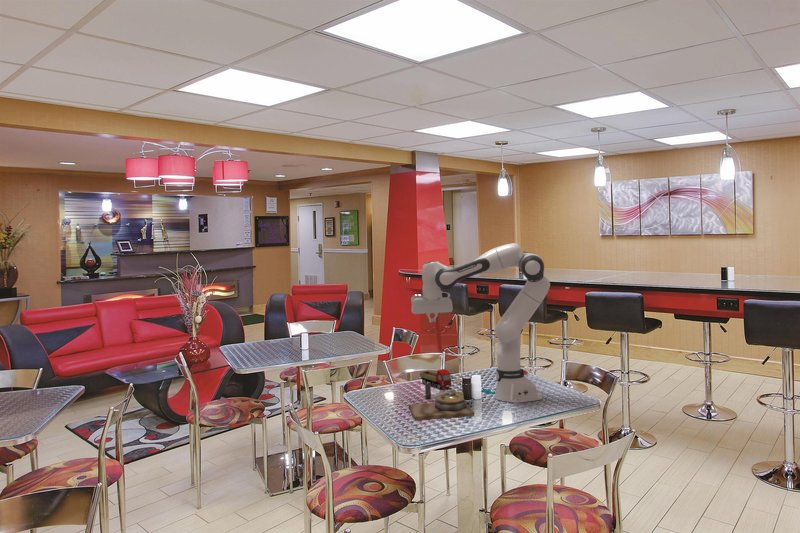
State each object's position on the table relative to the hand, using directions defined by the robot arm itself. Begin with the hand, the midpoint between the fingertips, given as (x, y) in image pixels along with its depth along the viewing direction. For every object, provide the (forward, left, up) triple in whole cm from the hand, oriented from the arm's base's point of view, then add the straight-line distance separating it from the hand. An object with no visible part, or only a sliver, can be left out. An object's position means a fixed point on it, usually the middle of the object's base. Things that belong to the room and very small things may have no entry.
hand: (432, 322), depth 258 cm
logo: (-25, -15, -38) cm, 48 cm away
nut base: (+2, +24, -37) cm, 44 cm away
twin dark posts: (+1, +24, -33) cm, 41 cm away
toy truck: (-5, -20, -37) cm, 43 cm away
